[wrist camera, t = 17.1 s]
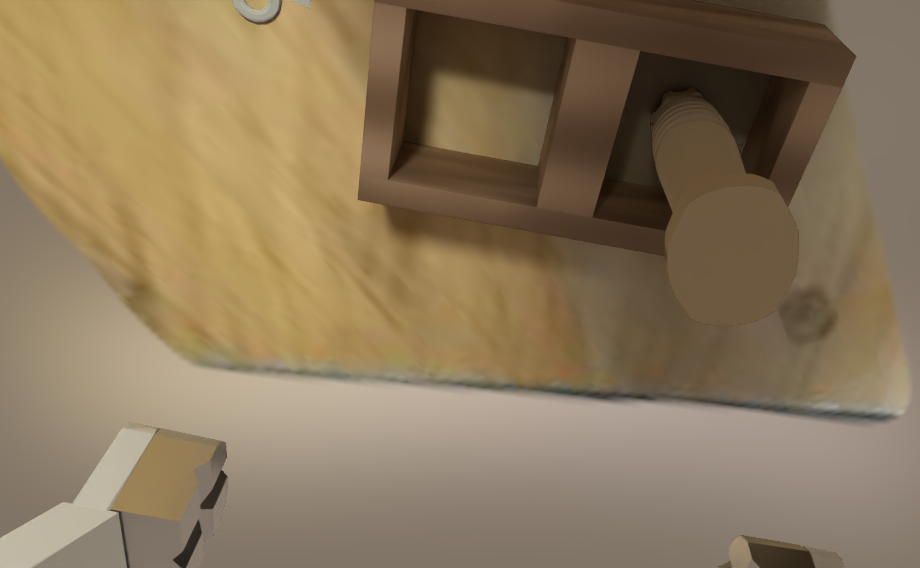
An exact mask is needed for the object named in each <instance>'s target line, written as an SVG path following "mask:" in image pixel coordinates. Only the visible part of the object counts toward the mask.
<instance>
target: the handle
mask: <svg viewBox="0 0 920 568" xmlns="http://www.w3.org/2000/svg"><path fill="white" fill-rule="evenodd" d="M650 127H651V132H652V148H653V156H654V162H655V166H656V170H657V174H658V177H659V179H660V182H661V184H662V187H663V189H664V192H665V194H666V197H667V199H668V202H669V204H670V207H671V210H672V212H673V214H672V216H671V218H670V221H669V223H668V226H667V229H666V232H665V260H666V270H667V275H668V279H669V282H670V286H671V288H672V291H673V293H674V295H675V297H676V298H677V300H678V301H679V303H680V305H681V306H682V308H683V309H684V310H685V312H686V313H687V315H688V316H689V318H690V319H692V320H695V321H697V322H700V323H703V324H706V325H714V326H733V325H741V324H746V323H750V322H754V321H757V320H759V319H761V318H764V317H766V316H767V315H769V314H771V313H773V312H774V311H775V309H776V308H777V306H778V305H779V303H780V302H781V300H782V299H783V297H784V295H785V294H786V292H787V291H788V289H789V288H790V286H791V284H792V282H793V280H794V277H795V275H796V270H797V264H798V251H799V233H798V229H797V226H796V223H795V221H794V219H793V217H792V215H791V213H790V211H789V209H788V207H787V206H786V204H785V202H784V200H783V198H782V196H781V195H780V193H779V191H778V189H777V188H776V186H775V184H774V183H773V182H772V181H770V180H768V179H766V178H764V177H761V176H758V175H754V174H746V172H745V169H744V165H743V162H742V159H741V156H740V153H739V150H738V146H737V144H736V141H735V139H734V137H733V135H732V133H731V131H730V129H729V127H728V125H727V124H726V122H725V121H724V120H723V118H722V117H721V115H720V114H719V112H718V111H717V110H716V109H715V108H714V107H713V106H712V105H711V104H710V103H708V102H707V101H705V100H703V98H702V95H701V93H700V92H699V91H698V90H695V89H693V88H689V89H688V90H686V91H683V92H673V91H668V92H667V93H665V94H664V95H663V99H662V102H661V104H660V106H659V108H658V109H657V111H656V112H654V113H653V114H652V116H651V121H650Z"/></svg>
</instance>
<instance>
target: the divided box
mask: <svg viewBox="0 0 920 568" xmlns="http://www.w3.org/2000/svg"><path fill="white" fill-rule="evenodd" d="M418 10H421V11H426V12H431V13H437V14H442V15H448V16H453V17H459V18H464V19H470V20H475V21H480V22H486V23H491V24H497V25H502V26H508V27H513V28H519V29H524V30H529V31H535V32H540V33H546V34H551V35H557V36H562V37H568V39H567V43H566V48H565V52H564V56H563V61H562V65H561V69H560V74H559V78H558V82H557V87H556V91H555V95H554V99H553V104H552V108H551V112H550V117H549V121H548V125H547V130H546V134H545V138H544V143H543V147H542V151H541V156H540V160H539V164H538V166H533V165H528V164H522V163H517V162H511V161H506V160H500V159H495V158H490V157H484V156H479V155H473V154H468V153H462V152H457V151H451V150H446V149H440V148H435V147H429V146H424V145H418V144H413V143H408V142H403V136H404V128H405V119H406V111H407V102H408V94H409V85H410V77H411V68H412V60H413V51H414V43H415V34H416V25H417V17H418ZM640 51H644V52H649V53H655V54H660V55H666V56H671V57H677V58H682V59H688V60H693V61H698V62H704V63H709V64H715V65H720V66H726V67H731V68H737V69H742V70H747V71H753V72H758V73H764V74H769V75H773V77H772V79H771V82H770V84H769V87H768V89H767V92H766V94H765V97H764V99H763V102H762V104H761V107H760V110H759V112H758V115H757V117H756V120H755V122H754V125H753V127H752V130H751V132H750V135H749V137H748V140H747V142H746V145H745V147H744V150H743V153H742V155H741V159H742V162H743V165H744V169H745V172H746V174H754V175H758V176H761V177H764V178H766V179H768V180H770V181H772V182H773V183H774V184H775V186H776V188H777V189H778V191H779V193H780V195H781V196H782V198H783V200H784V202H785V204H786V206H787V207H788V206H789V204H790V202H791V199H792V197H793V195H794V193H795V191H796V188H797V186H798V184H799V182H800V179H801V177H802V175H803V173H804V171H805V168H806V166H807V164H808V162H809V160H810V157H811V155H812V153H813V151H814V149H815V146H816V144H817V142H818V140H819V138H820V135H821V133H822V131H823V129H824V126H825V124H826V122H827V120H828V118H829V115H830V113H831V111H832V109H833V107H834V104H835V102H836V100H837V98H838V96H839V93H840V91H841V89H842V87H843V85H844V82H845V80H846V78H847V76H848V73H849V71H850V69H851V67H852V65H853V62H854V60H855V58H856V55H855V54H854V53H852V51H850V50H849V49H848V48H847V47H846V46H845V45H844V44H843V43H842V42H841V41H840V40H839V39H838V38H837V37H836V36H835V35H834V34H833V33H832V32H831V31H830V30H829V29H828V28H827V27H826V26H825V25H823V24H817V23H812V22H806V21H801V20H795V19H790V18H784V17H779V16H774V15H768V14H763V13H757V12H752V11H746V10H741V9H735V8H730V7H725V6H719V5H714V4H708V3H703V2H697V1H692V0H375V2H374V14H373V25H372V37H371V49H370V61H369V73H368V84H367V96H366V108H365V120H364V132H363V143H362V155H361V167H360V179H359V190H358V200H361V201H367V202H372V203H377V204H383V205H388V206H394V207H399V208H405V209H410V210H416V211H421V212H427V213H432V214H438V215H443V216H449V217H454V218H460V219H465V220H471V221H476V222H482V223H487V224H493V225H498V226H503V227H509V228H514V229H520V230H525V231H531V232H536V233H542V234H547V235H553V236H558V237H564V238H569V239H575V240H580V241H586V242H591V243H597V244H602V245H608V246H613V247H618V248H624V249H629V250H635V251H640V252H646V253H651V254H657V255H662V256H665V232H666V229H667V226H668V223H669V221H670V218H671V216H672V214H673V212H672V210H671V207H670V204H669V202H668V199H667V197H666V194H665V192H664V189H659V188H654V187H648V186H643V185H637V184H632V183H626V182H621V181H615V180H610V179H604V175H605V172H606V168H607V165H608V161H609V158H610V154H611V151H612V148H613V144H614V141H615V137H616V134H617V130H618V127H619V123H620V120H621V116H622V113H623V109H624V106H625V102H626V99H627V95H628V92H629V89H630V85H631V82H632V78H633V75H634V71H635V68H636V64H637V61H638V57H639V54H640Z"/></svg>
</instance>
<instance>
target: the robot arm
mask: <svg viewBox="0 0 920 568" xmlns="http://www.w3.org/2000/svg"><path fill="white" fill-rule="evenodd" d="M226 458H227V451H226V443H225V442H223V441H219V440H214V439H209V438H205V437H200V436H195V435H191V434H186V433H181V432H176V431H172V430H166V429H162V428H161V429H160V428H156V427H151V426H146V425H141V424H136V423H131V422H130V423H128V424H127V425H126V426H125V427H124V428H122V429H121V430H120V431H119V433H118V435H117V436H116V438H115V439H114V441H113V442H112V444H111V445H110V447H109V448H108V450H107V451H106V453H105V455H104V456H103V458H102V459H101V461H100V462H99V464H98V465H97V467H96V469H95V470H94V472H93V473H92V474H91V476H90V477H89V479H88V481H87V482H86V484H85V485H84V487H83V488H82V490H81V491H80V493H79V494H78V496H77V497H76V499H75V500H74V502H73V504H71V503H64V502H62V503H61V504H59V505H57V506H55V507H54V508H52V509H51V510H49V511H47V512H45V513H43V514H41V515H40V516H38V517H36V518H34V519H33V520H31V521H29V522H27V523H26V524H24V525H22V526H20V527H19V528H17V529H15V530H13V531H12V532H10V533H8V534H6V535H5V536H3V537H1V538H0V568H200V566H201V564H202V562H203V542H205V541H206V540H208V539H209V538H211V537H212V536H214V534H215V532H216V530H217V527H218V525H219V522H220V520H221V517H222V513H223V510H224V506H225V503H226V497H227V489H228V477H227V475H226V474H225V473H224V472H223V471H222V467H223V465H224V463H225V460H226ZM728 551H729V555H730V561H728V562H727V563H724V564H722V565H720V566H718V568H845V565H844V563H843V560H842V558H841V557H840V556H839V555H838V554H837V553H836V552H832V551H826V550H821V549H816V548H810V547H802V546H800V545H796V544H790V543H785V542H779V541H773V540H767V539H761V538H755V537H749V536H743V535H740V536H738V537H736V538H735V539H734V540H733V542H732V543H731V545H730V547H729V548H728Z"/></svg>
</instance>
